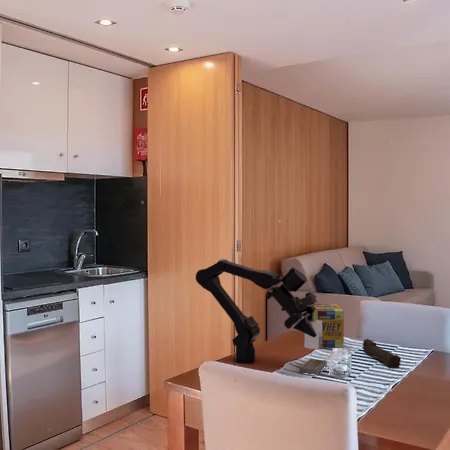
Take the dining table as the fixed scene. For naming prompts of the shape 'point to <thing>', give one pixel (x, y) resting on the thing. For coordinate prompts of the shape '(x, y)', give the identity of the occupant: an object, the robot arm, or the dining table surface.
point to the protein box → (330, 325)
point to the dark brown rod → (381, 354)
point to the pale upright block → (316, 341)
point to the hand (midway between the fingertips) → (317, 335)
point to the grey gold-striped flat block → (313, 366)
